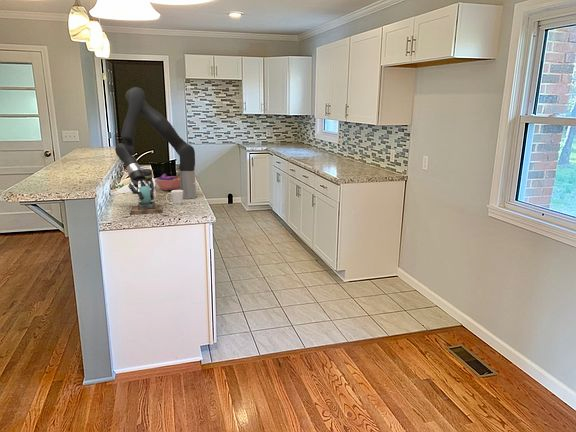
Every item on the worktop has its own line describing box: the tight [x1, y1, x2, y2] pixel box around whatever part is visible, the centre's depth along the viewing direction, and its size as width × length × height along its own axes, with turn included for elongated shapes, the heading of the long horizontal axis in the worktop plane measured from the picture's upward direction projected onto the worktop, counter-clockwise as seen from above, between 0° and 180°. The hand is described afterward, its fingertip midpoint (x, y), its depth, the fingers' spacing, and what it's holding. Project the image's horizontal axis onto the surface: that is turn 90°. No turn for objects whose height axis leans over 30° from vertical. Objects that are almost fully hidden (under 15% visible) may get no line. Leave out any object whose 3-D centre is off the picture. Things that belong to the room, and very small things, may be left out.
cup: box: [165, 189, 183, 206], centre depth 254 cm, size 7×10×8 cm
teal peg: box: [140, 186, 152, 205], centre depth 237 cm, size 5×5×10 cm
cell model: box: [154, 173, 180, 192], centre depth 294 cm, size 17×20×11 cm
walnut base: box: [130, 200, 163, 216], centre depth 239 cm, size 16×12×4 cm
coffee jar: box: [138, 168, 155, 201], centre depth 266 cm, size 10×8×19 cm
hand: (147, 198), depth 236 cm, fingers closed on teal peg, 5 cm apart
